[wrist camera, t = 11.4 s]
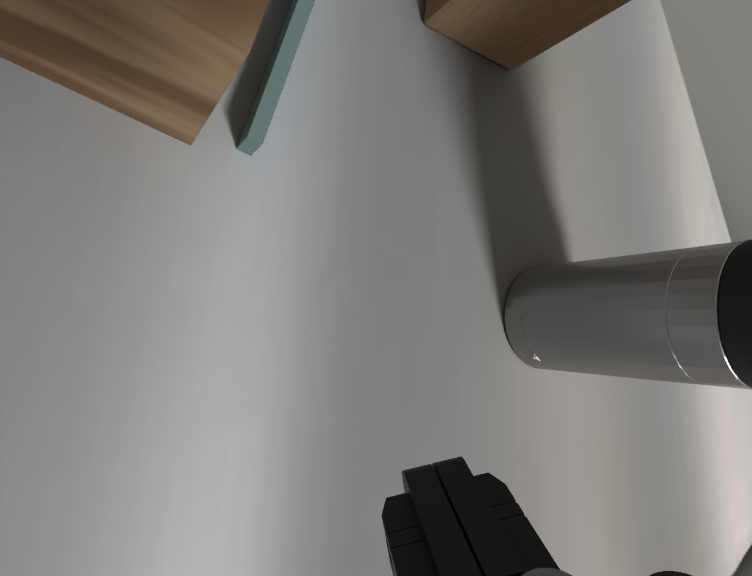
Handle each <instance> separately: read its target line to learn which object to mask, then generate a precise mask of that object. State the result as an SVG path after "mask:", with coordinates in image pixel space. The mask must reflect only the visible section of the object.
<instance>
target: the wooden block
mask: <svg viewBox="0 0 752 576" xmlns="http://www.w3.org/2000/svg"><path fill="white" fill-rule="evenodd" d="M629 1H631V0H426V6H425V14H424V23H425V24H426V26H428V27H430V28H432V29H434V30H436V31H437V32H439V33H441V34H443V35H445V36H447V37H449V38H451V39H452V40H454V41H456V42H458V43H460V44H462V45H464V46H466V47H467V48H469V49H471V50H473V51H475V52H477V53H479V54H480V55H482V56H484V57H486V58H488V59H490V60H492V61H494V62H495V63H497V64H499V65H501V66H503V67H505V68H507V69H515V68H517V67H518V66H520V65H522V64H523V63H525V62H527V61H528V60H530V59H532V58H534V57H535V56H537V55H539V54H540V53H542V52H544V51H546V50H547V49H549V48H551V47H552V46H554V45H556V44H558V43H559V42H561V41H563V40H564V39H566V38H568V37H569V36H571V35H573V34H575V33H576V32H578V31H580V30H581V29H583V28H585V27H587V26H588V25H590V24H592V23H593V22H595V21H597V20H598V19H600V18H602V17H604V16H605V15H607V14H609V13H610V12H612V11H614V10H616V9H617V8H619V7H621V6H622V5H624V4H626V3H627V2H629Z"/></svg>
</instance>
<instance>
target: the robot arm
mask: <svg viewBox="0 0 752 576" xmlns="http://www.w3.org/2000/svg"><path fill="white" fill-rule="evenodd" d="M505 326H506V332H507V335H508V339H509V342H510V344H511V346H512V348H513V350H514V351H515V353H516V354H517V355H518V357H519V358H520V359H521V360H522V361H524V362H525V363H526V364H528V365H530V366H532V367H534V368H539V369H548V370H558V371H568V372H577V373H587V374H597V375H608V376H618V377H628V378H638V379H649V380H659V381H669V382H680V383H690V384H700V385H713V386H723V387H733V388H744V389H752V240H747V241H739V242H731V243H723V244H715V245H707V246H700V247H693V248H685V249H677V250H669V251H660V252H652V253H644V254H636V255H628V256H620V257H611V258H603V259H595V260H587V261H579V262H569V263H561V264H553V265H545V266H537V267H533V268H529V269H528V270H526V271H524V272H523V273H521V274H520V275H519V277H518V278H517V279H516V280H515V281H514V283H513V285H512V286H511V288H510V291H509V293H508V296H507V300H506V305H505ZM402 478H403V485H404V491H405V493H404V494H400V495H396V496H392V497H388V498H386V501H385V505H384V509H383V512H382V520H383V525H384V531H385V536H386V542H387V547H388V553H389V558H390V564H391V568H392V572H393V576H572V575H570V574H568V573H566V572H564V571H561V570H560V569H559V567H558V566H557V564H556V563H555V561H554V560H553V558H552V557H551V555H550V553H549V552H548V550H547V549H546V547H545V546H544V544H543V542H542V541H541V539H540V538H539V536H538V535H537V533H536V531H535V530H534V528H533V527H532V525H531V524H530V522H529V520H528V519H527V517H525V516H524V513H523V511H522V509H521V508H520V506H519V505H518V503H516V500H515V499H514V497H513V495H512V494H511V492H510V491H509V489H508V488H507V486H506V484H504V483H503V482H501V481H500V480H499V479H497V478H496V477H494V476H493V475H491V474H490V473H485V474H480V475H476V476H473V475H472V473H471V471H470V469H469V467H468V466H467V464H466V462H465V460H464V459H463V457H457V458H453V459H448V460H444V461H440V462H436V463H433V464H432V465H431V464H428V465H424V466H420V467H416V468H412V469H408V470H404V471H402ZM650 576H692V575H689V574H686V573H681V572H675V571H662V572H657V573H654V574H652V575H650Z"/></svg>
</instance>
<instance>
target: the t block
mask: <svg viewBox="0 0 752 576" xmlns="http://www.w3.org/2000/svg"><path fill="white" fill-rule="evenodd" d="M268 3H269V0H0V57H2V58H4V59H6V60H9V61H11V62H13V63H15V64H17V65H19V66H21V67H24V68H26V69H28V70H30V71H32V72H34V73H36V74H39V75H41V76H43V77H45V78H47V79H49V80H51V81H54V82H56V83H58V84H60V85H62V86H64V87H66V88H69V89H71V90H73V91H75V92H77V93H79V94H81V95H84V96H86V97H88V98H90V99H92V100H94V101H96V102H99V103H101V104H103V105H105V106H107V107H109V108H111V109H114V110H116V111H118V112H120V113H122V114H124V115H126V116H129V117H131V118H133V119H135V120H137V121H139V122H141V123H144V124H146V125H148V126H150V127H152V128H154V129H156V130H159V131H161V132H163V133H165V134H167V135H169V136H171V137H174V138H176V139H178V140H180V141H182V142H184V143H186V144H189V145H191V144H192V143H193V141H194V140H195V138H196V136H197V135H198V133H199V132H200V130H201V128H202V127H203V125H204V124H205V122H206V121H207V119H208V117H209V116H210V114H211V113H212V111H213V109H214V108H215V106H216V105H217V103H218V102H219V100H220V98H221V97H222V95H223V94H224V92H225V90H226V89H227V87H228V86H229V84H230V83H231V81H232V79H233V78H234V76H235V75H236V73H237V71H238V70H239V68H240V67H241V65H242V64H243V62H244V60H245V59H246V57H247V56H248V54H249V52H250V50H251V48H252V45H253V42H254V40H255V37H256V34H257V32H258V29H259V26H260V24H261V21H262V18H263V16H264V13H265V11H266V8H267V5H268Z"/></svg>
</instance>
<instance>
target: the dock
mask: <svg viewBox="0 0 752 576" xmlns="http://www.w3.org/2000/svg"><path fill="white" fill-rule="evenodd" d="M314 1H315V0H292V3H291V5H290V8H289V11H288V13H287V16H286V19H285V21H284V24H283V27H282V29H281V32H280V35H279V37H278V40H277V42H276V45H275V48H274V50H273V53H272V56H271V58H270V61H269V64H268V66H267V69H266V72H265V74H264V77H263V80H262V82H261V85H260V88H259V90H258V93H257V96H256V98H255V101H254V104H253V106H252V109H251V112H250V114H249V117H248V119H247V122H246V125H245V127H244V130H243V133H242V135H241V138H240V141H239V143H238V146H237V149H238V150H240V151H242V152H244V153H246V154H248V155H250V156H251V155H252V154H253V153H254V152H255V151H256V150H257V149H258V148H259V147H260V146H261V145H262V144H263V141H264V138H265V136H266V133H267V130H268V127H269V125H270V122H271V119H272V116H273V114H274V111H275V108H276V105H277V103H278V100H279V97H280V94H281V92H282V89H283V86H284V83H285V81H286V78H287V75H288V73H289V70H290V67H291V64H292V62H293V59H294V56H295V53H296V51H297V48H298V45H299V42H300V40H301V37H302V34H303V31H304V29H305V26H306V23H307V20H308V18H309V15H310V12H311V10H312V7H313V4H314Z"/></svg>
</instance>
